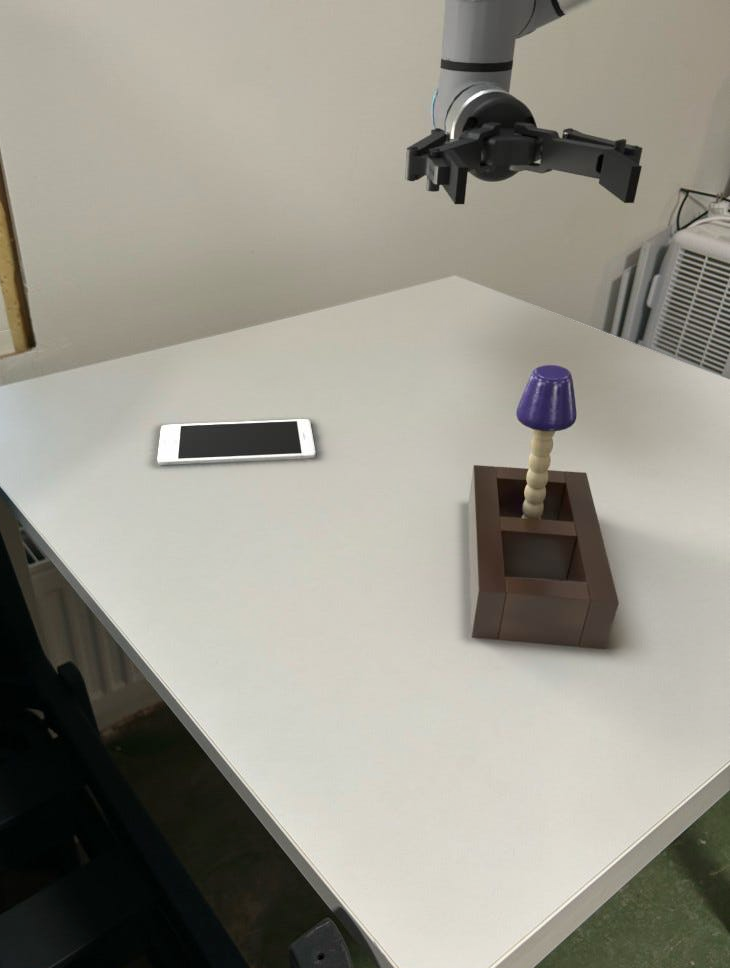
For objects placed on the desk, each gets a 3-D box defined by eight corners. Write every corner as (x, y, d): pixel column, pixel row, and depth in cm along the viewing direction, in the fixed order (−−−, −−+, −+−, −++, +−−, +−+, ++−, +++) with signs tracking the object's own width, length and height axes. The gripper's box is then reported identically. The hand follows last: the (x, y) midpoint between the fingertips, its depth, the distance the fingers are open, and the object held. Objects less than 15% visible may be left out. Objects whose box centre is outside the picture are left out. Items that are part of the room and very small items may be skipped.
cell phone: (162, 429, 89) (161, 424, 89) (309, 423, 91) (309, 418, 90) (157, 467, 83) (156, 461, 83) (316, 459, 84) (316, 454, 84)
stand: (575, 518, 77) (586, 472, 74) (604, 653, 62) (619, 602, 59) (467, 510, 78) (473, 464, 75) (470, 641, 63) (478, 590, 60)
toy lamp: (505, 564, 71) (536, 386, 61) (488, 532, 75) (514, 360, 65) (558, 559, 72) (597, 382, 62) (539, 528, 75) (572, 357, 65)
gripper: (606, 173, 84) (691, 233, 67) (363, 174, 83) (386, 236, 66) (622, 90, 80) (717, 132, 63) (365, 90, 79) (391, 133, 62)
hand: (547, 185), depth 64 cm, fingers open, 13 cm apart
